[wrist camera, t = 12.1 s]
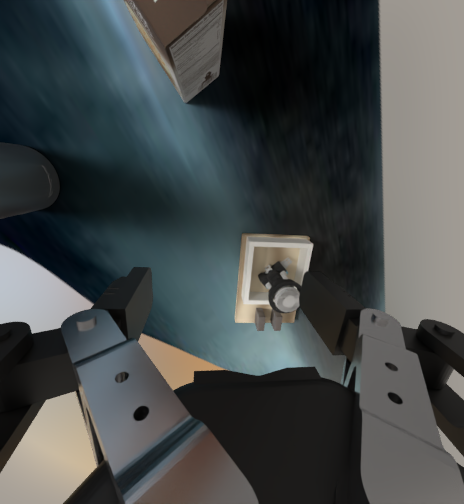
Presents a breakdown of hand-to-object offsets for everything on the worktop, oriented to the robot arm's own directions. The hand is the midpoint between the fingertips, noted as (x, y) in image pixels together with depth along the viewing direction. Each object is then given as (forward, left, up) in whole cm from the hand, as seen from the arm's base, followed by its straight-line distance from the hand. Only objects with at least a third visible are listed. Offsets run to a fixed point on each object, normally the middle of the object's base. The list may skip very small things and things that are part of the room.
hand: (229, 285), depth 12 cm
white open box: (+11, -10, -26) cm, 30 cm away
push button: (+11, -11, -26) cm, 30 cm away
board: (+11, -13, -27) cm, 32 cm away
